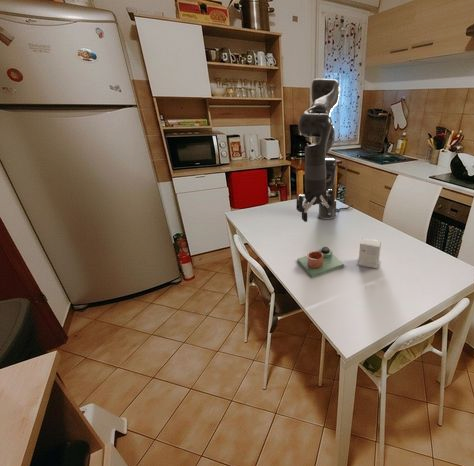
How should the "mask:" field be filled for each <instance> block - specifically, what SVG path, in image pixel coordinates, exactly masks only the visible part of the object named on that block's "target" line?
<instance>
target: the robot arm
mask: <svg viewBox="0 0 474 466" xmlns="http://www.w3.org/2000/svg"><path fill="white" fill-rule="evenodd" d="M340 88H341V87H340V83H339V81H338V80H337V79H334V78H315V79H313V81H312V83H311V91H310V92H311V101H312V104H311V106H310V107H309V108H308V109H306V110H305V111H304V112H302V114H301V115H300V116H299V120H298V122H297V123H298V125H297V127H298V131H299V133H300V135H302V136H303V137H306V138H314V140H315V143H312V144H308V145H306V146H305V148H304V172H303V173H304V175H303V176H304V194H300V193H298V194H296V208H295V209H296V210H297V212H299V213H301V220H302V221H303V222H304V223H307V222H308V211H309V209H311V208H312V206H315V205H318V218H319V219H322V220H332V219H334V218H336V217H337V213H339V212H340V211H341V210H348V209H350V208H351V207H354V205H353V204H350V205H349V206H348V207H340V208H337V200H336V179H337V165H338V162H337V159H335V158H327V153H328V152H329V151H330V150H331V148H332V147H333V145H334V143H335V136H336V135H335V132H336V131H335V127H334V124H333V120H332V118H331V112H332V111H333V110H334V108H335V107H336V106H337V105H338V102H339V99H340ZM327 177H329V178H328V179H327Z"/></svg>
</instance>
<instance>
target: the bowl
mask: <svg viewBox="0 0 474 466" xmlns="http://www.w3.org/2000/svg"><path fill="white" fill-rule="evenodd" d="M306 256H307V263H308V266H309V267H311V268H320V267H321V266H322V265H323V254H322V253H321V252H319V251H318V250H311V251H309V252H308V253H307V255H306Z"/></svg>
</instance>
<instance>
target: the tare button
mask: <svg viewBox="0 0 474 466" xmlns="http://www.w3.org/2000/svg"><path fill="white" fill-rule="evenodd" d="M321 248H322V253H323V254H327V253H329V249H330V248H329V247H328V246H323V247H321Z"/></svg>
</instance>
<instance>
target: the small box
mask: <svg viewBox="0 0 474 466" xmlns="http://www.w3.org/2000/svg"><path fill="white" fill-rule="evenodd" d="M381 249H382V240H380V239H374V238H367V237H362V238H361V241H360V243H359V253H358V264H357V265H358V266H361V267H367V268H372V269H378V267H379V263H380V257H381V256H380V255H381Z"/></svg>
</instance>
